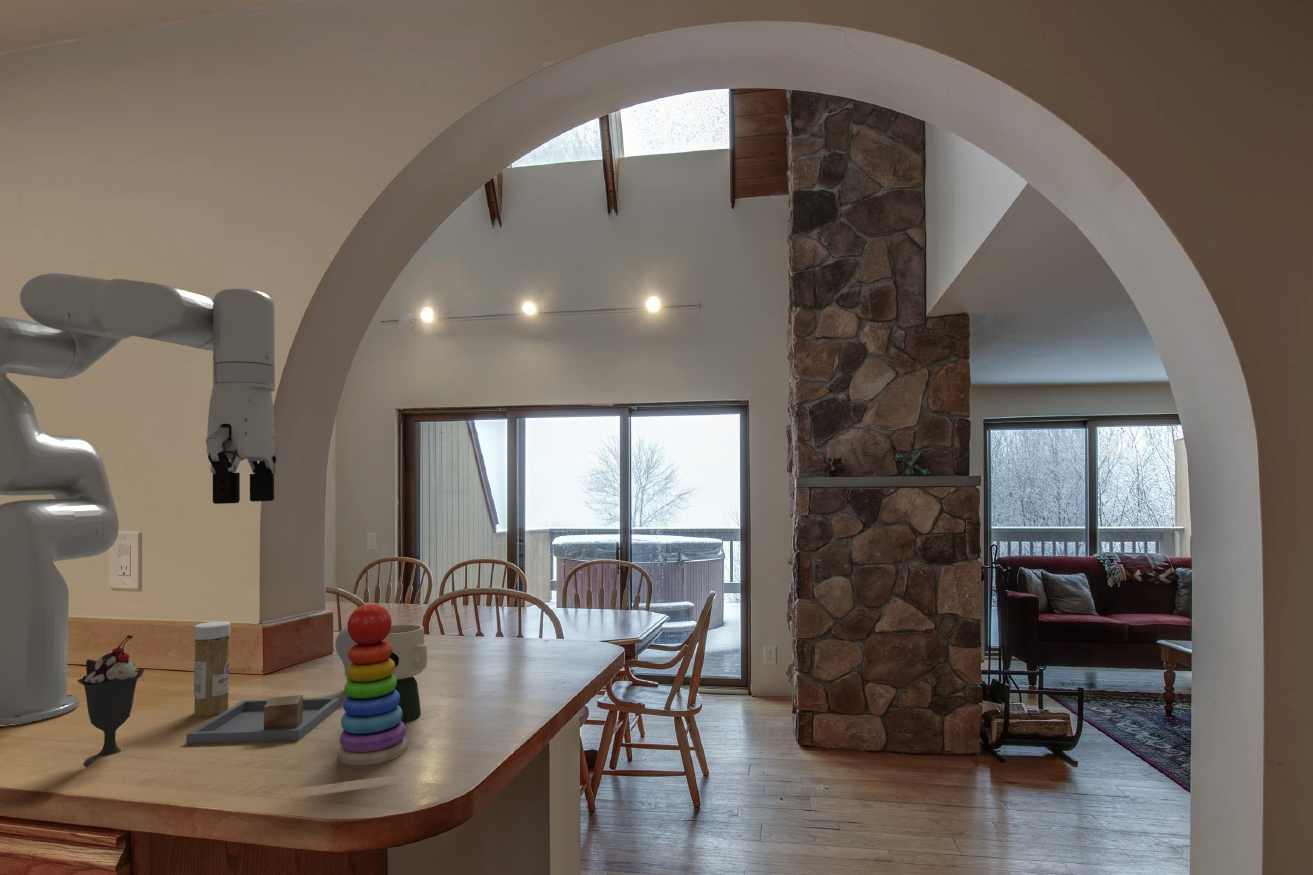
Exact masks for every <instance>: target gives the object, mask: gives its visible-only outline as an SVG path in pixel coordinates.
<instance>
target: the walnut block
mask: <svg viewBox="0 0 1313 875" xmlns="http://www.w3.org/2000/svg"><path fill="white" fill-rule="evenodd" d="M303 695H304V694H297V695H287V696H277V697H270V698H269V700H268V702H267V703H266V705H265V706H264V729H295V728H297V727H298V726H299V725H301V724H302V722H303V698H304V697H303Z"/></svg>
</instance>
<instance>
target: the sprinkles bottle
mask: <svg viewBox="0 0 1313 875" xmlns="http://www.w3.org/2000/svg"><path fill="white" fill-rule="evenodd" d="M230 635H231V622H229V621H224V620H221V621H209V622H202V623H199V624H196V625H195V626H194V627H193V639H194V661H193V662H194V663H193V665H194V666H193V670H194V671H193V673H194V674H193V697H194V709H193V710H194V711H193V712H194V713H193V714H194V717H198V718H199V717H200V718H205V717H213V716H214V717H215V716H218V715H219V714H221V713H223V712H224V711H226V710H228V709H229V691H230V653H229V652H230V648H229V647H230V641H229V640H230Z"/></svg>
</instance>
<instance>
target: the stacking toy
mask: <svg viewBox="0 0 1313 875" xmlns="http://www.w3.org/2000/svg"><path fill="white" fill-rule="evenodd" d="M391 625H393V624H392V617H391V614H390V612H389V611H388V609H387V608H385V607H384V606H382V605H381V604H377V603H366V604H362V605H360V606H359V607H357V608H356V609H354V610H353V611H352V612H351V614H350V616H349V618H348V620H347V625H346V626H347V628H348V633H349V635H350V637H351V639H352V640H353V641H354V642H356V643H357V644H355V645H353V646H352V647H351V648H350V649H349V652H348V658H349V660H350V661H351V662H353V663H352V664H350V666H349V667H348V669H347V676H348V677H349V680H348V681H347V680H346V682H345V683H344V684H345V685H344V692H345V695H346V697H345V699H344V700H343V702H342V703H343V704H342V705H343V706H342V707H343V710H344V714H342V716H341V718H340V719H341V720H340V725H341V728H342V729H343V730H342V731H341V733H340V735H339V743H340V745H341V746H340V748H339V749H338V752H337V759H338V761H339V762H340V763H342V764H345V765H352V766H369V765H370V766H371V765H376V764H377V765H378V764H381V763H384V762H388V761H391V760H394V759H397V758H399V757H400V756H402V755H403V754H405V753H406V752H407V751H408V742H407V739H406V738H405V735H406V731H407V730H406V729H407V727H406V725H405V723H403V722H402V721H401V719H402V709H401V708H400V707H399V706H398V704H399V701H400V695H399V693H398V691H397V690H395V687H396V685H397V680H396V677H395V676H394V675H393V674H392V673H393V672H394V670H395V663H394V661H393V660H392V659H390V658H389V657H390V656H391V654H392V646H391V644H390V643H389V642H387V641H383V640H384V639H385V638H386V637H387V635H388V634H389V632H390V629H391Z"/></svg>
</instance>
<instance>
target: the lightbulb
mask: <svg viewBox="0 0 1313 875" xmlns="http://www.w3.org/2000/svg"><path fill="white" fill-rule="evenodd" d="M355 644H357V643H356V642H354V641H353V640H352V639H351V637H350V635H349V633H348V628H347V625H346V626H344V627H343V628H342V629H341V630H340V631H339V632H338V634H337V635H336V639H335V644H334V645H335V646H334V648H335V651H336V653H337V655H338V657H339V658H340V660H341V661H342V664H343V666H344V667H343V668H344V675H345V677H346V682H347V681H348V680H349V677H348V676H347V669H348V667H349V666H350V664H352V663H353V662H351V661H350V660H349V658H348V652H349V649H350V648H351V647H352V646H353V645H355Z"/></svg>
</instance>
